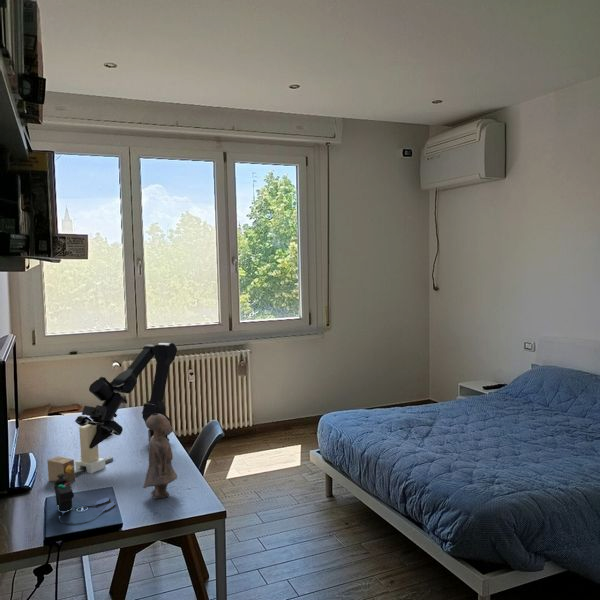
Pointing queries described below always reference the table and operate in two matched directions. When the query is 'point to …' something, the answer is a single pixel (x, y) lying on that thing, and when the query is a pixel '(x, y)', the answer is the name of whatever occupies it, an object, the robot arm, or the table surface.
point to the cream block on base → (89, 450)
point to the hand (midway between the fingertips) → (85, 447)
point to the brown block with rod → (66, 468)
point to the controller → (63, 493)
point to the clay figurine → (159, 457)
